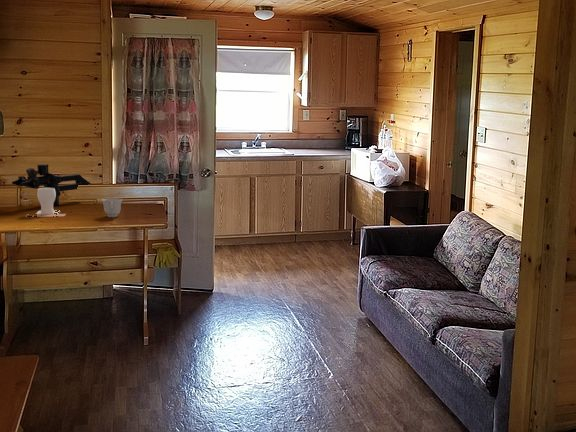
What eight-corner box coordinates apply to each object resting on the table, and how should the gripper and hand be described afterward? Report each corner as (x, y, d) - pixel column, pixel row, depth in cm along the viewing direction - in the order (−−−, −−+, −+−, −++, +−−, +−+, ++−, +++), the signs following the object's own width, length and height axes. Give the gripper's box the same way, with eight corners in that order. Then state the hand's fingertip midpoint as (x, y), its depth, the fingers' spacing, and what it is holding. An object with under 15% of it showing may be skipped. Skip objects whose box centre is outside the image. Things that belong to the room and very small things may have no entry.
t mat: (30, 210, 434) (30, 210, 434) (68, 210, 439) (68, 210, 439) (25, 217, 414) (25, 216, 414) (64, 216, 419) (64, 216, 419)
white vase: (59, 212, 431) (58, 187, 429) (52, 215, 421) (51, 190, 418) (42, 211, 432) (41, 187, 430) (34, 214, 422) (33, 189, 419)
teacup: (101, 219, 412) (100, 202, 410) (102, 214, 426) (102, 198, 424) (122, 218, 414) (122, 201, 412) (123, 214, 429) (122, 198, 427)
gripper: (29, 167, 449) (6, 169, 437) (46, 169, 438) (23, 171, 426) (30, 184, 451) (7, 187, 439) (47, 187, 440) (24, 190, 428)
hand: (16, 183), depth 433 cm, fingers open, 9 cm apart
